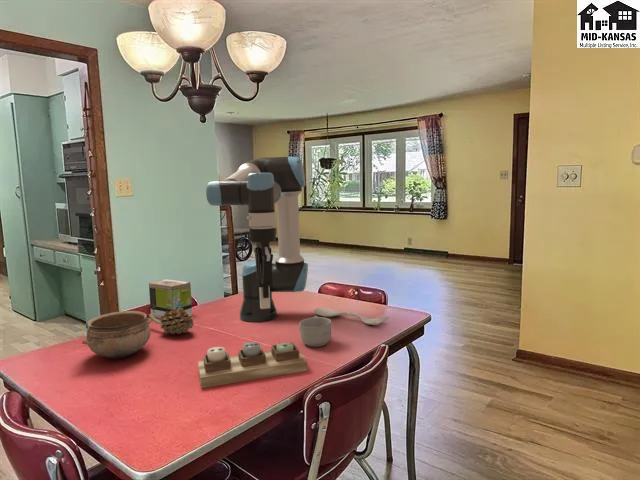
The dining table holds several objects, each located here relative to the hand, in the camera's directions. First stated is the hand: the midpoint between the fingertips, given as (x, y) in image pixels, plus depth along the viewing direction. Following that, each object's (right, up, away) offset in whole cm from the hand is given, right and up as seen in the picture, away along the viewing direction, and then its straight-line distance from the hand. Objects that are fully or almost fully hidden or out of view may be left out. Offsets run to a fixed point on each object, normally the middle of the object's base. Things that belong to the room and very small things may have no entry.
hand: (265, 307), depth 128 cm
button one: (+5, -15, +4) cm, 16 cm away
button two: (-13, -14, -3) cm, 20 cm away
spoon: (+27, -13, +47) cm, 56 cm away
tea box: (-47, -13, +57) cm, 75 cm away
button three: (-4, -14, 0) cm, 14 cm away
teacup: (+15, -16, +23) cm, 32 cm away
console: (-4, -19, +1) cm, 19 cm away
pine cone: (-40, -15, +36) cm, 56 cm away
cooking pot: (-49, -18, +15) cm, 54 cm away
